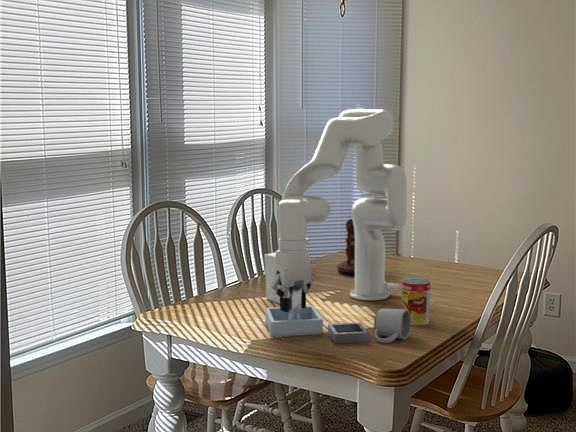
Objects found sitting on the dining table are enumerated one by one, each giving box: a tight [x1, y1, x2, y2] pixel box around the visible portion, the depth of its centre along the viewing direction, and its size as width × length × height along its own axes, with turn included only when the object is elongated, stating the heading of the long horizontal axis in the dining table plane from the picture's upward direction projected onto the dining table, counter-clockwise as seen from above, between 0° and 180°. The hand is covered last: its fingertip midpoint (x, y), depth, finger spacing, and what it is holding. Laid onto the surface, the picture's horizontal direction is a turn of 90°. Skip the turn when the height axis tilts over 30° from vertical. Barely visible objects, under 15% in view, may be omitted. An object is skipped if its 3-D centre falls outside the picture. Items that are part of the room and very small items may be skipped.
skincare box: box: [263, 251, 284, 305], centre depth 236 cm, size 8×6×15 cm
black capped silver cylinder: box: [287, 280, 304, 320], centre depth 208 cm, size 5×5×13 cm
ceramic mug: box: [373, 308, 412, 344], centre depth 198 cm, size 11×8×8 cm
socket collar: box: [327, 322, 370, 345], centre depth 199 cm, size 9×9×2 cm
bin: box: [264, 305, 324, 337], centre depth 208 cm, size 14×14×4 cm
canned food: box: [401, 276, 431, 326], centre depth 212 cm, size 8×8×12 cm
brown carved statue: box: [337, 218, 355, 274], centre depth 272 cm, size 15×15×20 cm
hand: (293, 308), depth 208 cm, fingers open, 5 cm apart
